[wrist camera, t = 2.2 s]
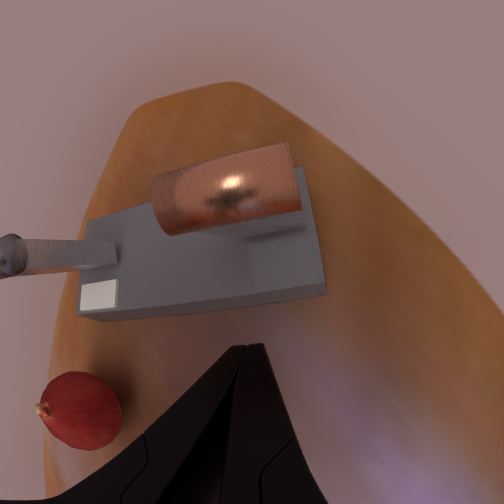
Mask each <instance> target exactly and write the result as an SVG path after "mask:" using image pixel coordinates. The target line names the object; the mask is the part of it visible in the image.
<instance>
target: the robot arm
mask: <svg viewBox="0 0 504 504" xmlns="http://www.w3.org/2000/svg"><path fill="white" fill-rule="evenodd" d="M0 504H328V502H327V500H326V499H325V497H324V495H323V494H322V492H321V490H320V489H319V487H318V485H317V483H316V481H315V479H314V478H313V476H312V474H311V472H310V470H309V467H308V465H307V463H306V460H305V458H304V455H303V453H302V450H301V448H300V445H299V442H298V440H297V437H296V434H295V431H294V429H293V426H292V423H291V420H290V418H289V415H288V412H287V409H286V406H285V403H284V401H283V398H282V395H281V392H280V389H279V386H278V383H277V381H276V378H275V375H274V372H273V369H272V366H271V363H270V360H269V358H268V355H267V352H266V349H265V346H264V344H263V343H256V344H249V345H248V346H247V345H235V346H231V347H230V348H229V349H228V350H227V351H226V352H225V353H224V354H223V355H222V356H221V357H220V358H219V359H218V360H217V361H216V362H215V363H214V364H213V365H212V366H211V367H210V368H209V369H208V370H207V371H206V372H205V373H204V374H203V375H202V376H201V377H200V378H199V379H198V380H197V381H196V382H195V383H194V384H193V385H192V386H191V387H190V388H189V389H188V390H187V391H186V392H185V393H184V394H183V395H182V396H181V397H180V398H179V399H178V400H177V401H176V402H175V403H174V404H173V405H172V406H171V407H170V408H169V409H168V410H167V411H166V412H165V413H163V414H162V415H161V416H160V417H159V418H158V419H157V420H156V421H155V422H154V423H153V424H152V425H151V426H150V427H149V428H148V429H147V430H145V431H144V434H141V435H140V436H139V437H138V438H137V439H136V440H134V441H133V442H132V443H131V444H130V445H129V446H128V447H127V448H125V449H124V450H123V451H122V452H121V453H120V454H118V455H117V456H116V457H115V458H113V459H112V460H111V461H109V462H108V463H107V464H105V465H104V466H103V467H101V468H100V469H98V470H97V471H96V472H94V473H93V474H91V475H90V476H88V477H87V478H85V479H84V480H82V481H81V482H79V483H78V484H76V485H75V486H73V487H72V488H70V489H69V490H67V491H66V492H64V493H62V494H60V495H58V496H55V497H52V498H49V499H43V500H0Z"/></svg>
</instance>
